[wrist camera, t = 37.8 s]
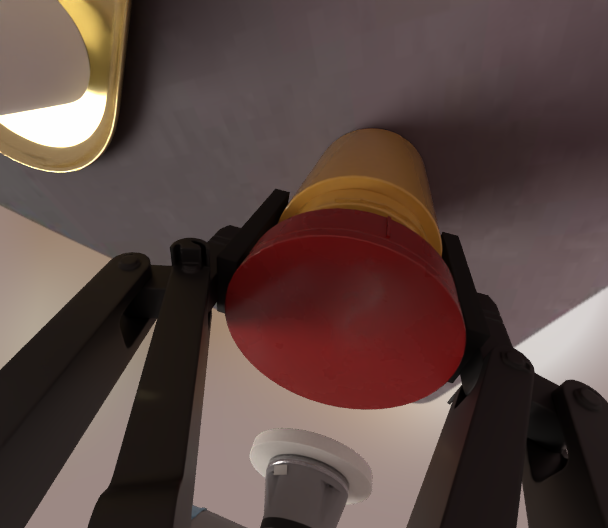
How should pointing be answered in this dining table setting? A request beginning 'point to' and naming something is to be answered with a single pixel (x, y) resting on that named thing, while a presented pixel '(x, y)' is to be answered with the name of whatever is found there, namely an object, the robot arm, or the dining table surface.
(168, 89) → the dining table surface
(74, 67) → the can
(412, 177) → the jar
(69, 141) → the serving platter
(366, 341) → the jar lid
